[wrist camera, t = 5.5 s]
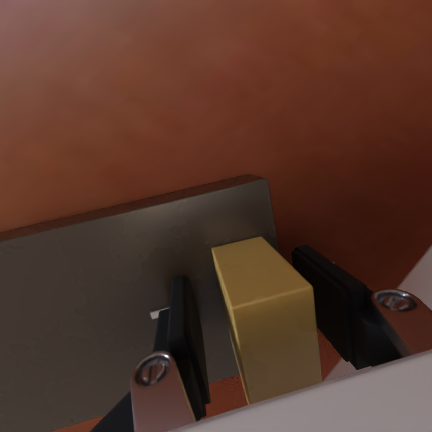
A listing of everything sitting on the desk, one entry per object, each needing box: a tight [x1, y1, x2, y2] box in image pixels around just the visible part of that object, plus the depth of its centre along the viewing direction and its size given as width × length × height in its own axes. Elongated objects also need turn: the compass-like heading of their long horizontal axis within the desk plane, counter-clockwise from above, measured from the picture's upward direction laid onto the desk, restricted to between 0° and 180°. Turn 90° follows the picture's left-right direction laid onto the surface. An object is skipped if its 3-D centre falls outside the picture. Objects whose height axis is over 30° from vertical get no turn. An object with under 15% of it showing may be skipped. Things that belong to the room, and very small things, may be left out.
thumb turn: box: [212, 236, 322, 405], centre depth 9 cm, size 5×2×5 cm, turn 11°
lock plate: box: [0, 174, 334, 432], centre depth 12 cm, size 21×10×3 cm, turn 102°
